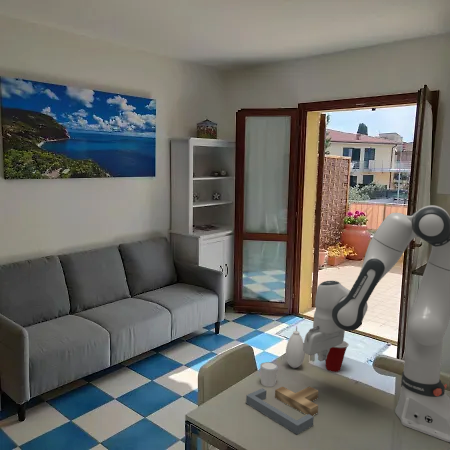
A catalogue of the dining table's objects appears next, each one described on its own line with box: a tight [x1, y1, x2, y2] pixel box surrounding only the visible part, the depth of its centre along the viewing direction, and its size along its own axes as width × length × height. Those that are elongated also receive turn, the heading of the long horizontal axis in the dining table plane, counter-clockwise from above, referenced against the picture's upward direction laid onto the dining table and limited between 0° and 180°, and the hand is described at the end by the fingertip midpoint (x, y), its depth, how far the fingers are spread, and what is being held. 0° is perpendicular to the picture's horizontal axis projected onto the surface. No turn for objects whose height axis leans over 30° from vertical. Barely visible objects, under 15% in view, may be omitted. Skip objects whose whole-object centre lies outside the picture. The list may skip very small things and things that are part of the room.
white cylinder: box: [259, 361, 279, 387], centre depth 165 cm, size 7×7×7 cm
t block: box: [274, 386, 319, 417], centre depth 153 cm, size 16×12×3 cm
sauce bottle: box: [285, 325, 306, 369], centre depth 179 cm, size 8×8×18 cm
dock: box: [245, 388, 315, 435], centre depth 145 cm, size 23×8×3 cm, turn 41°
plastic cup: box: [324, 340, 349, 373], centre depth 179 cm, size 11×11×12 cm
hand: (322, 360), depth 159 cm, fingers closed
